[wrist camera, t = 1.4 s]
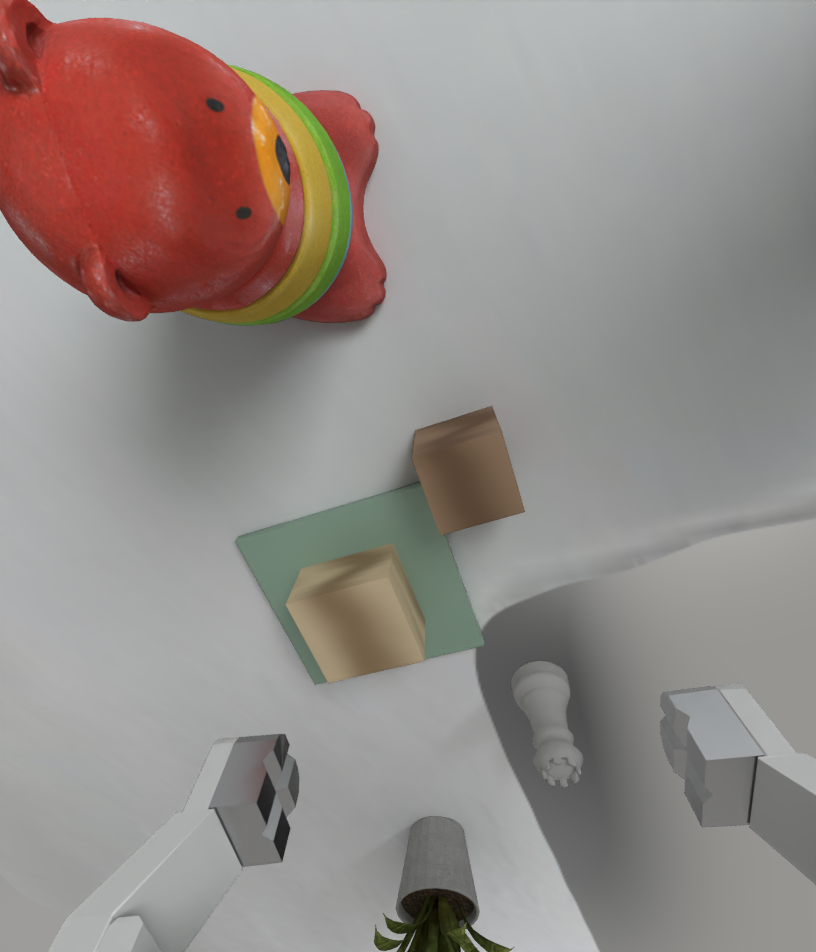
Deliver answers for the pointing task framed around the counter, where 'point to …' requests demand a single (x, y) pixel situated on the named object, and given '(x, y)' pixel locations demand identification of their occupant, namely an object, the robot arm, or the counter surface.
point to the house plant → (436, 893)
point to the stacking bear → (181, 176)
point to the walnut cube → (466, 471)
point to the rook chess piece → (548, 720)
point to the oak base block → (359, 614)
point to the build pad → (358, 530)
